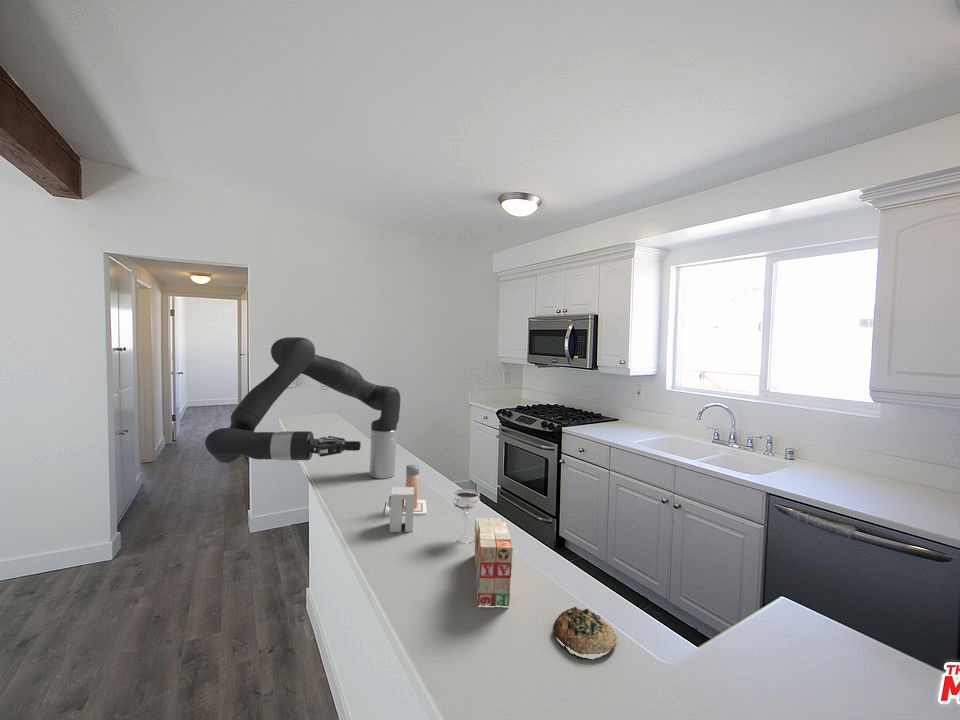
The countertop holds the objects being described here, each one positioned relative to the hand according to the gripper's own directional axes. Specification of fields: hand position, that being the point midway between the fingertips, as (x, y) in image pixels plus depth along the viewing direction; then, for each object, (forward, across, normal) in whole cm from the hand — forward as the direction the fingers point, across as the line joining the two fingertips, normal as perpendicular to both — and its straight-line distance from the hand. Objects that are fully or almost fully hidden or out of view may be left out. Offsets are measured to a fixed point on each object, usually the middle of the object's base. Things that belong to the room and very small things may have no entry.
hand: (360, 445), depth 119 cm
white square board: (+13, +12, +22) cm, 28 cm away
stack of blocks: (+31, -30, +22) cm, 48 cm away
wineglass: (+28, -10, +22) cm, 37 cm away
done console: (+12, -2, +22) cm, 25 cm away
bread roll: (+44, -50, +22) cm, 70 cm away
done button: (+10, -2, +16) cm, 19 cm away
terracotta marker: (+14, +11, +21) cm, 28 cm away
